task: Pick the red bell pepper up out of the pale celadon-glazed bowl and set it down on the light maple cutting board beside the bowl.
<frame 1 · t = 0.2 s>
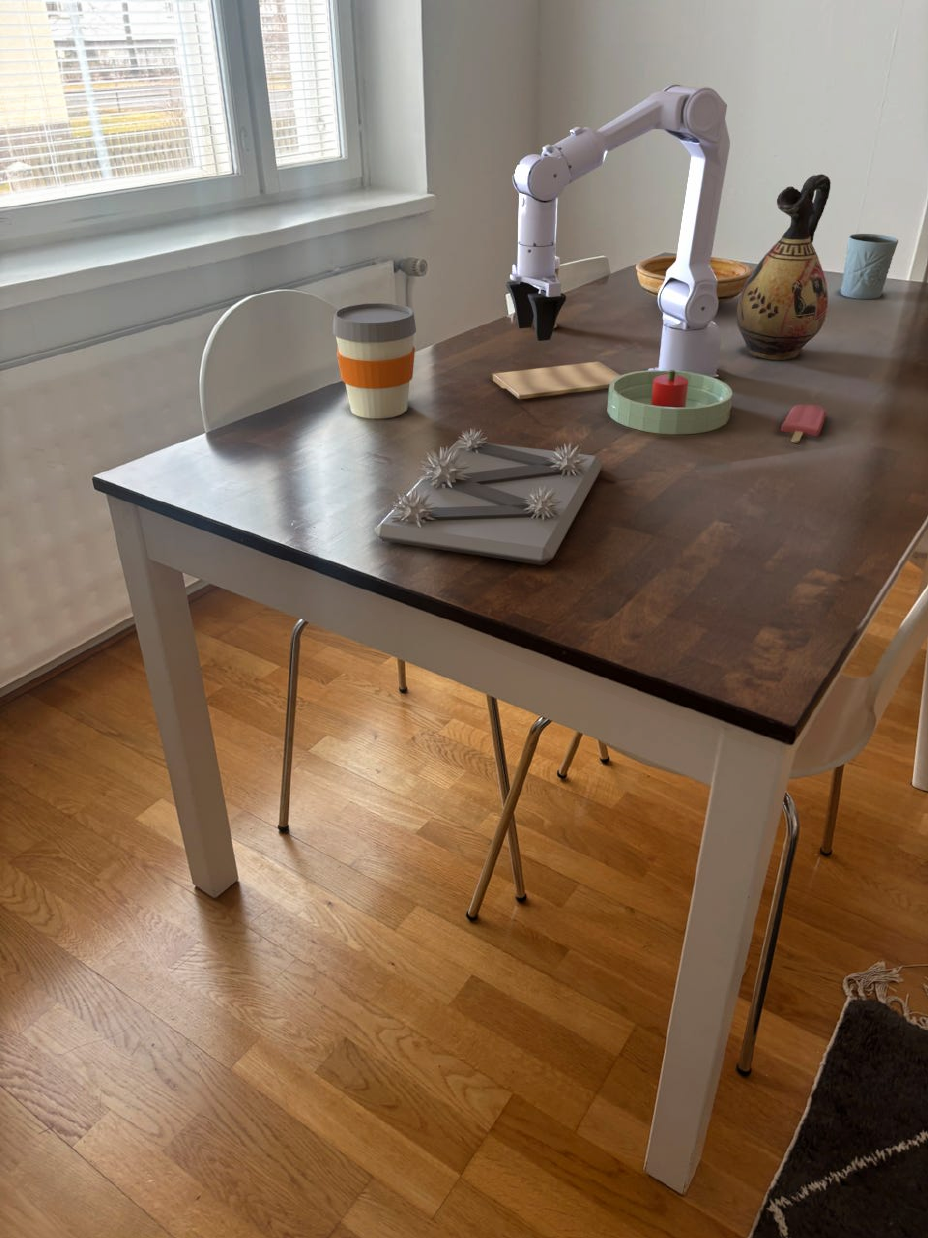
hand: (534, 333, 151), 10 cm above the table, tool pointing down, fingers open, 7 cm apart
pepper: (667, 412, 147), point 1 cm above the table, touching bowl
bowl: (667, 416, 148), on the table
reusable coffee cup: (379, 409, 152), on the table
sprinkles bottle: (545, 328, 192), on the table
cutting board: (560, 384, 161), on the table
decorative plate: (496, 506, 121), on the table
popsicle: (801, 431, 143), on the table
blue embossed cup: (861, 295, 213), on the table
ceramic jug: (776, 353, 176), on the table
ceramic bowl: (689, 306, 206), on the table
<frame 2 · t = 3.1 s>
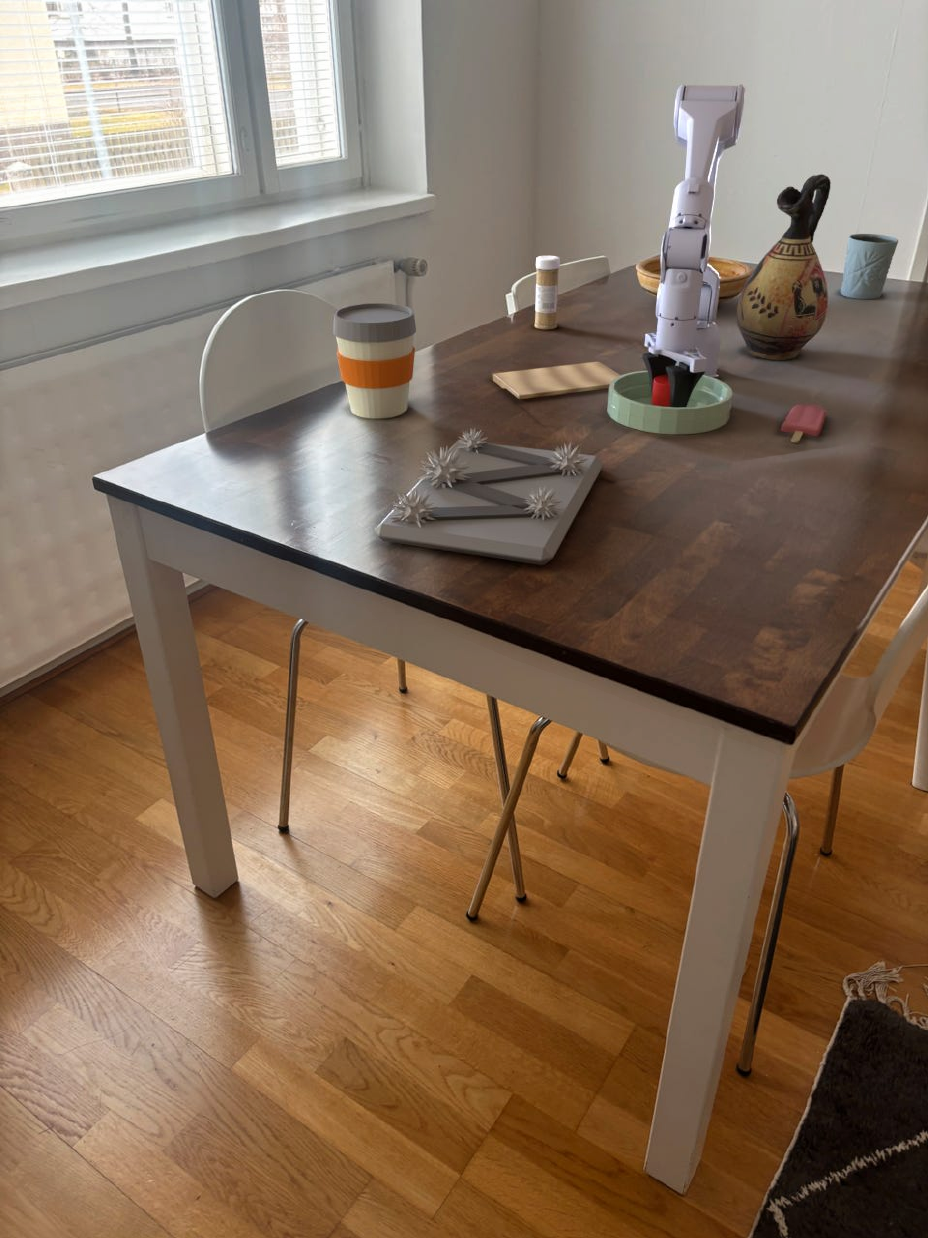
hand: (668, 405, 147), 2 cm above the table, tool pointing down, fingers closed on pepper, 5 cm apart
pepper: (667, 412, 147), point 1 cm above the table, touching bowl, gripper
everything else where it was.
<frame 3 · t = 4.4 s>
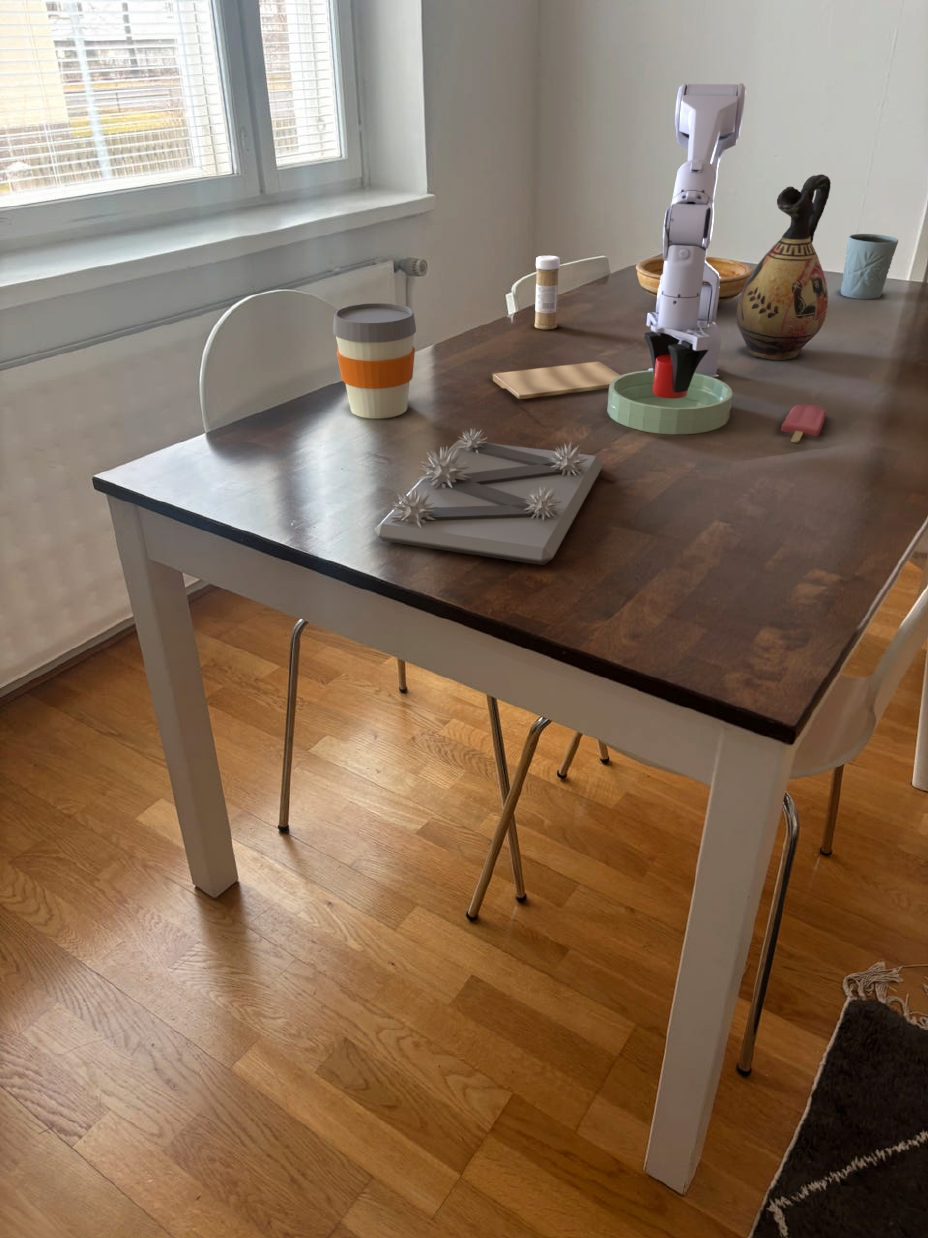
hand: (670, 385, 145), 5 cm above the table, tool pointing down, fingers closed on pepper, 5 cm apart
pepper: (669, 392, 146), point 4 cm above the table, touching gripper
everything else where it was.
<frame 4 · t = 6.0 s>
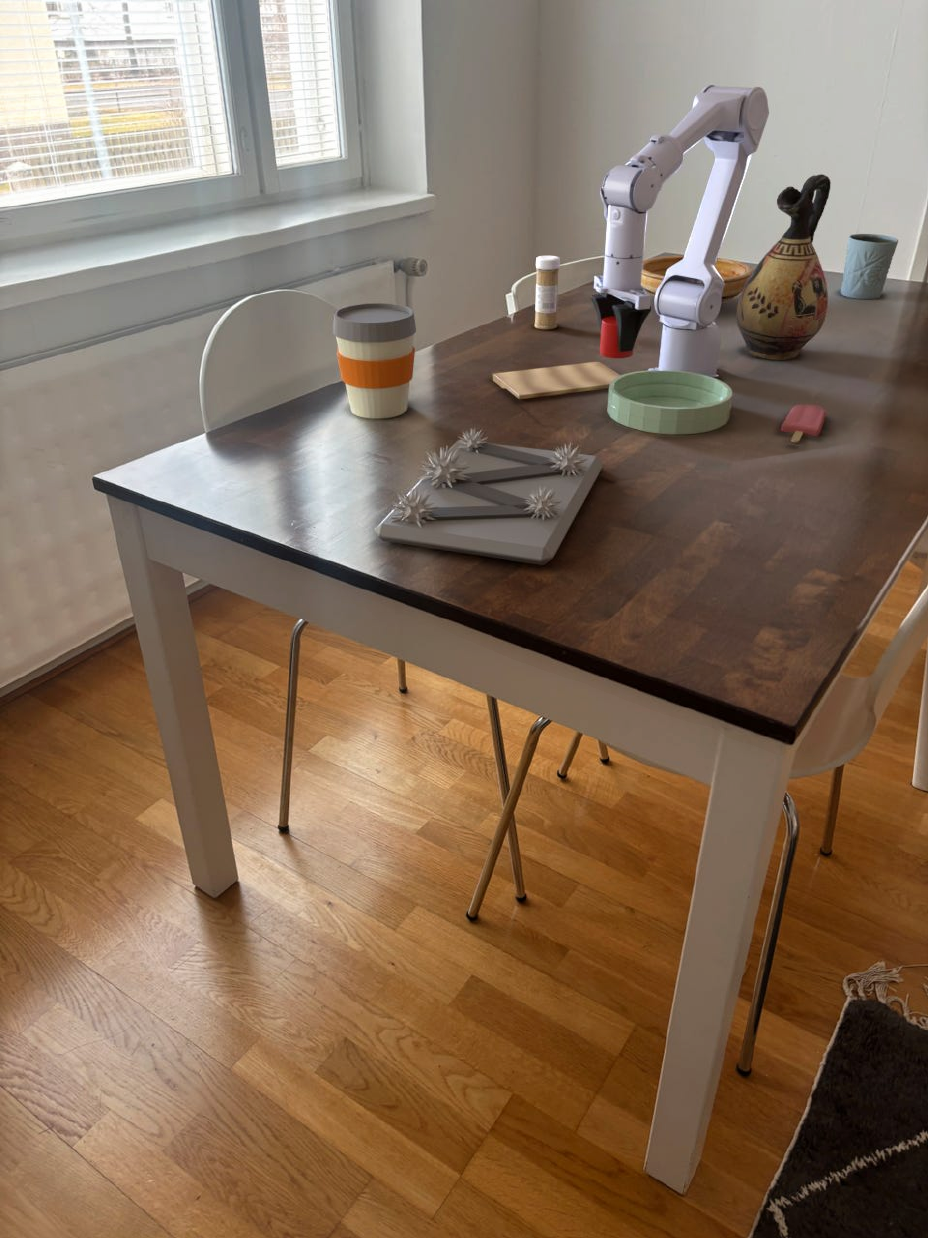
hand: (616, 345, 150), 9 cm above the table, tool pointing down, fingers closed on pepper, 5 cm apart
pepper: (616, 353, 150), point 8 cm above the table, touching gripper
everything else where it was.
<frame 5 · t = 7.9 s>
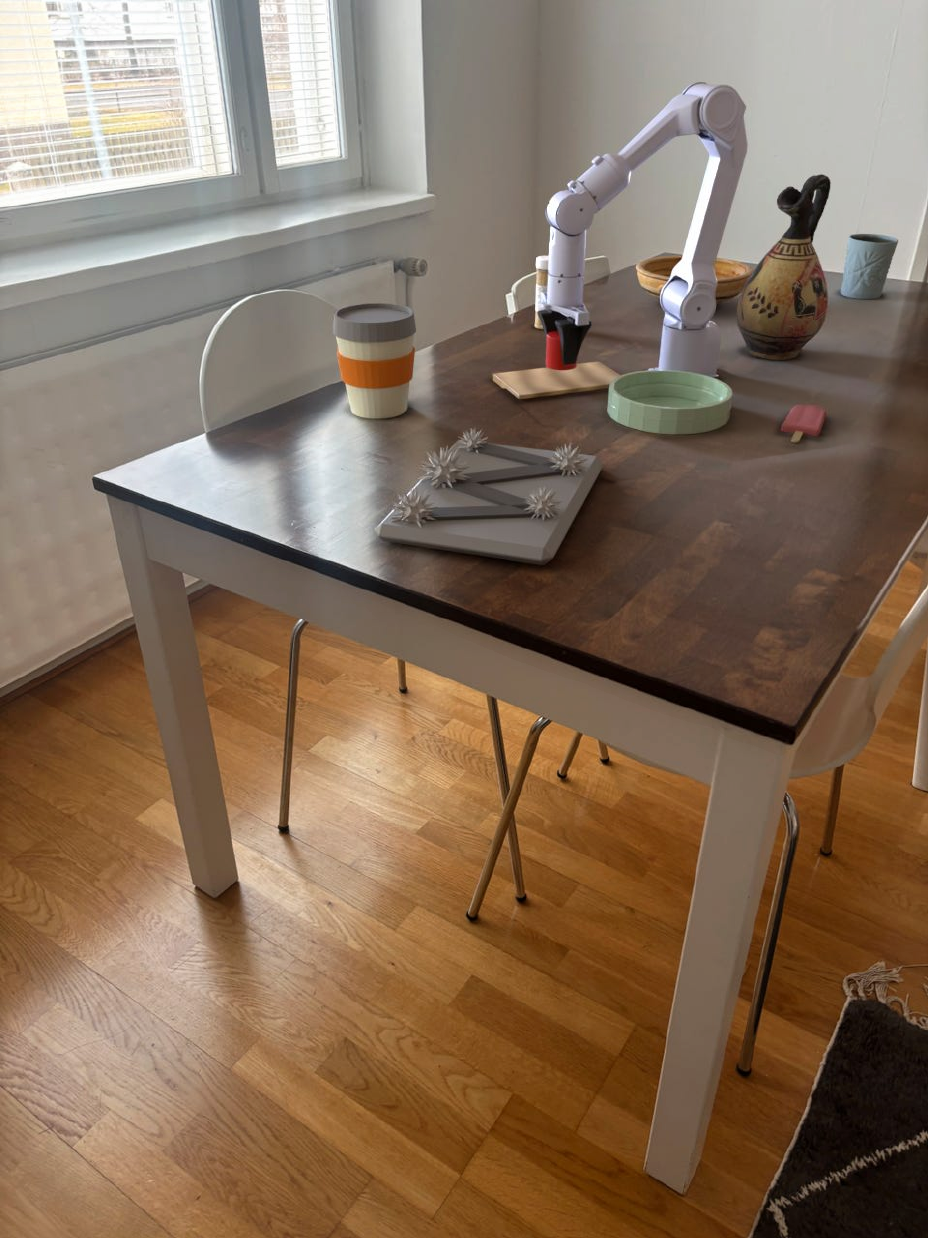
hand: (561, 358, 159), 4 cm above the table, tool pointing down, fingers closed on pepper, 5 cm apart
pepper: (561, 365, 159), point 3 cm above the table, touching gripper
everything else where it was.
when the fingers open (2 cm above the table, at t = 9.1 s): pepper stays where it is, resting on cutting board.
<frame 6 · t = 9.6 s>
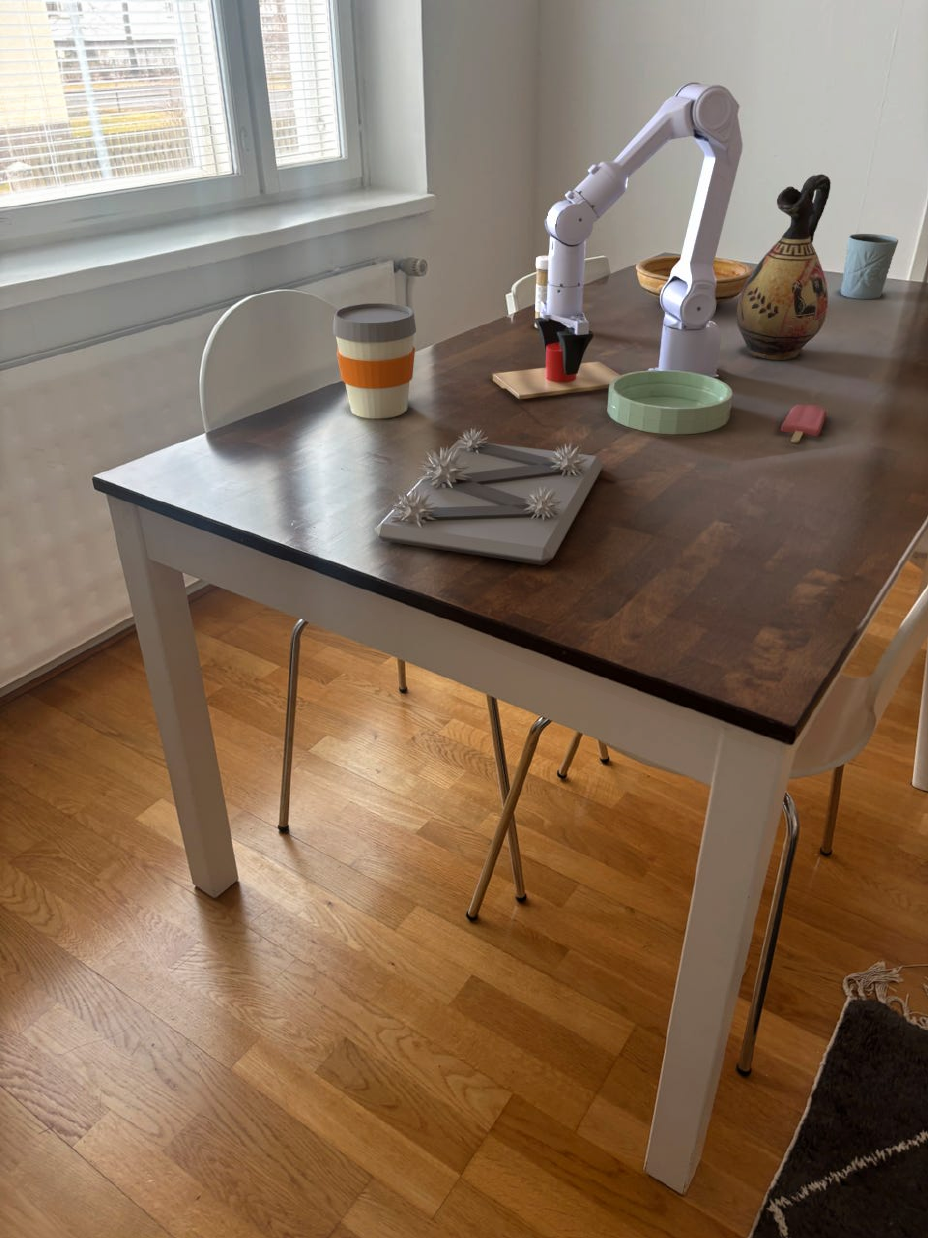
hand: (561, 367, 160), 3 cm above the table, tool pointing down, fingers open, 7 cm apart
pepper: (560, 377, 160), point 1 cm above the table, touching cutting board
everything else where it was.
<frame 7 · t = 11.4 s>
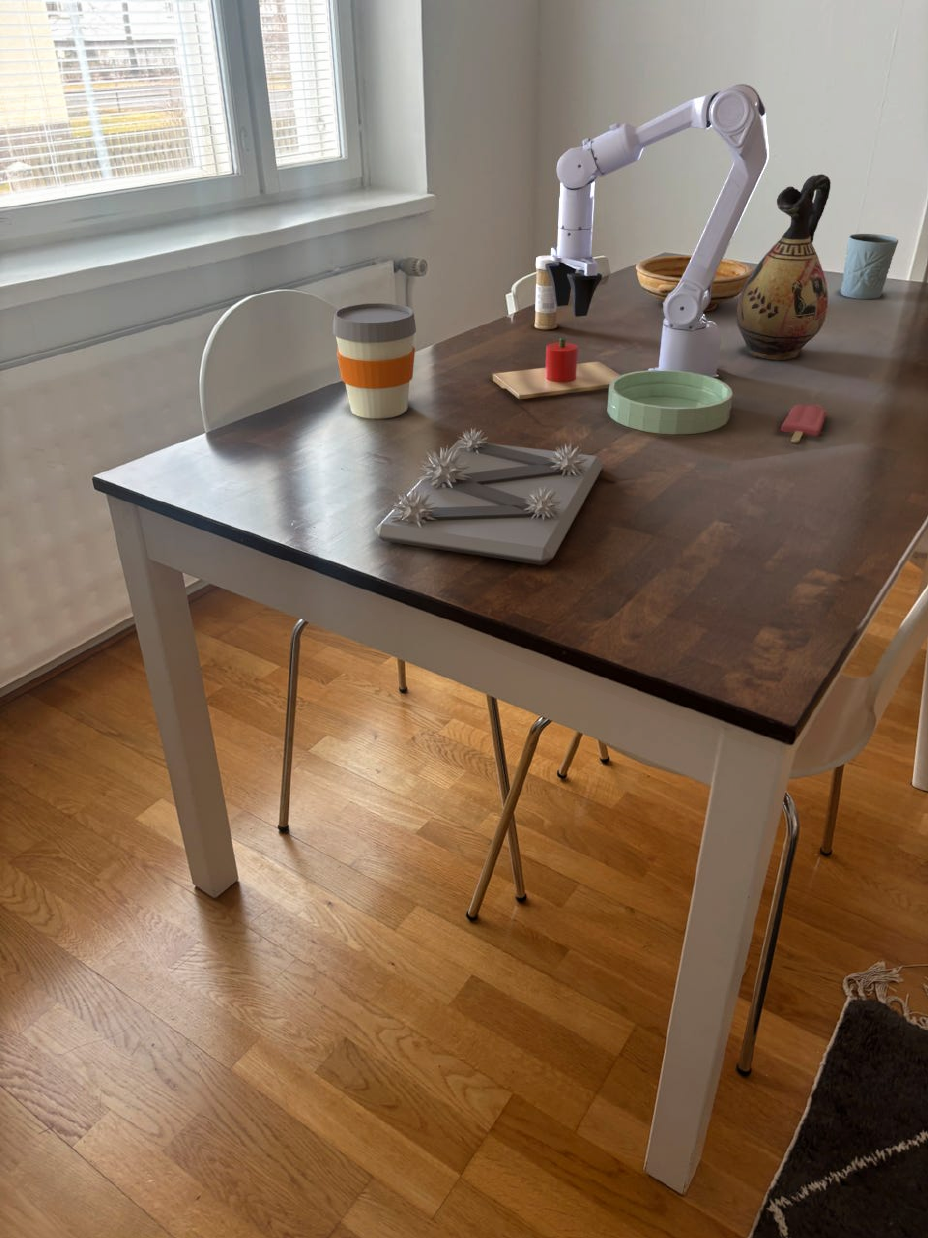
hand: (571, 310, 166), 9 cm above the table, tool pointing down, fingers open, 7 cm apart
nothing on the table moved.
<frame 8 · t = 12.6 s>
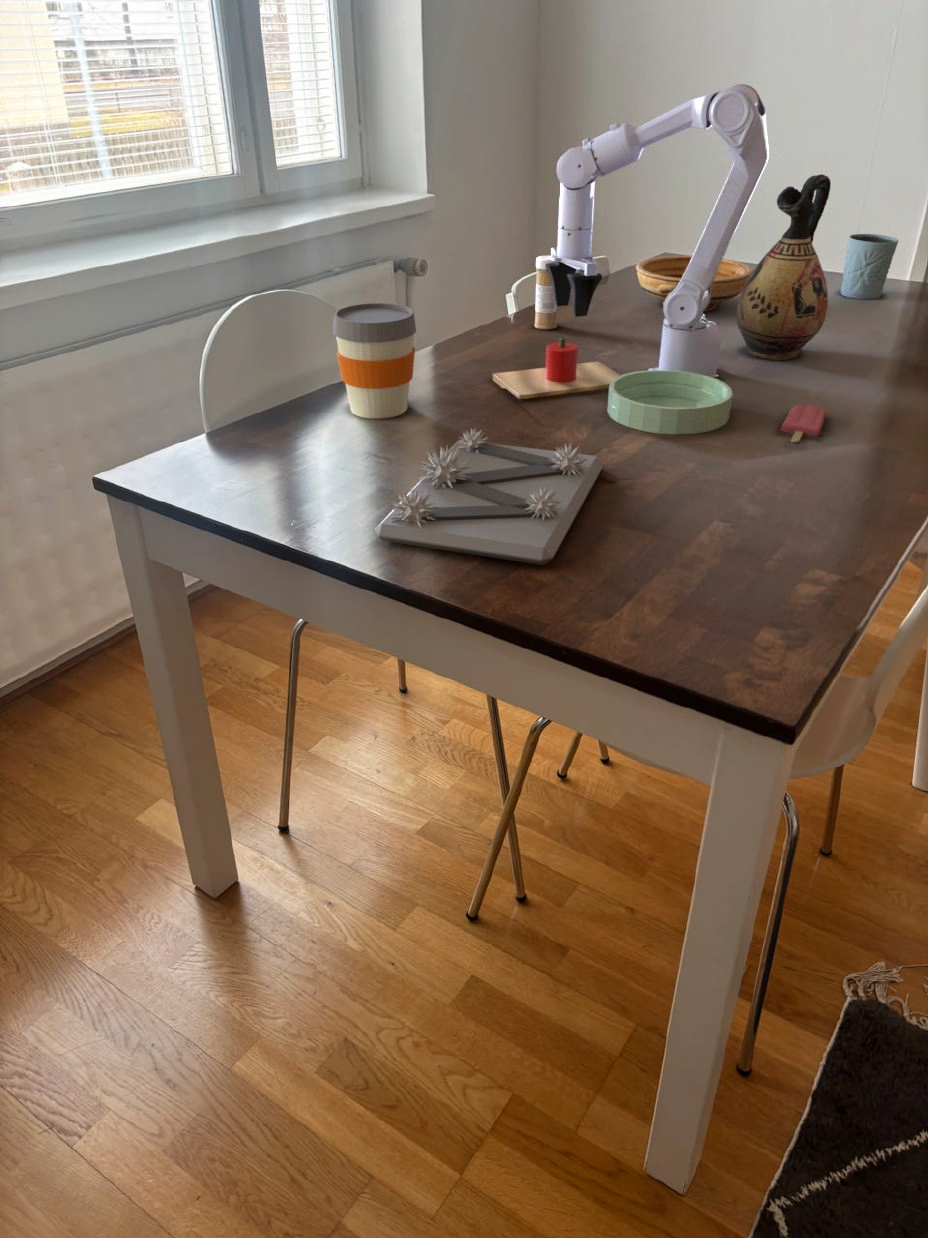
hand: (571, 310, 166), 9 cm above the table, tool pointing down, fingers open, 7 cm apart
nothing on the table moved.
at the end: pepper inside the target area on the cutting board (0.1 cm from its centre), point 1.2 cm above the cutting board's base; pepper touching cutting board; the gripper is holding nothing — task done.
